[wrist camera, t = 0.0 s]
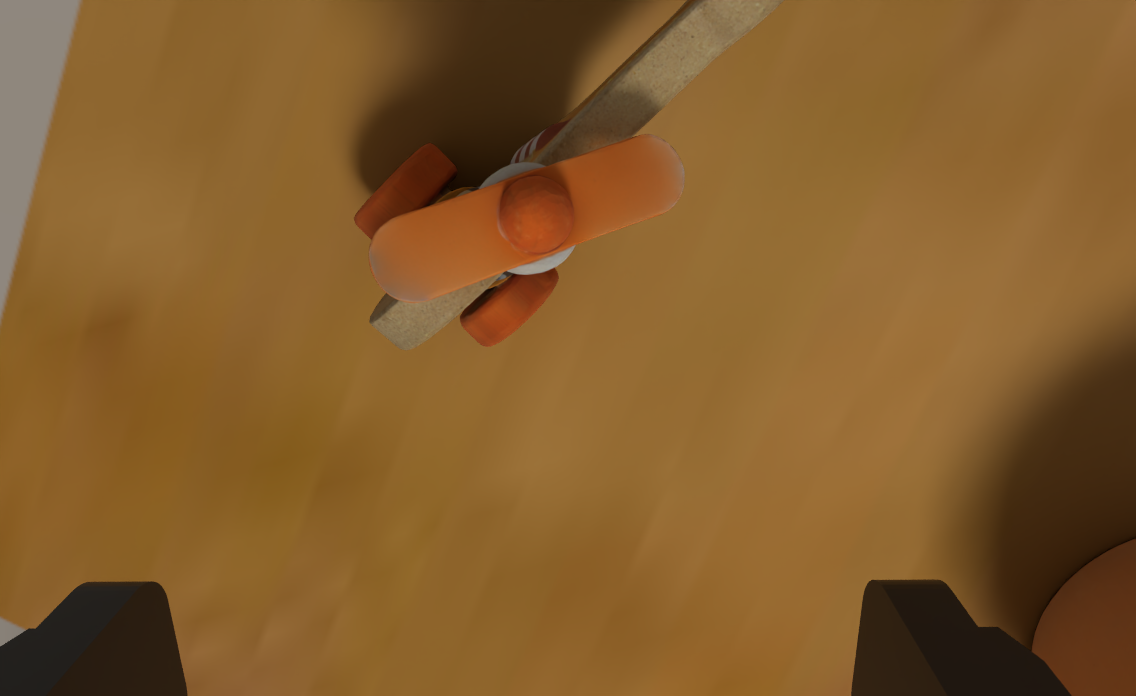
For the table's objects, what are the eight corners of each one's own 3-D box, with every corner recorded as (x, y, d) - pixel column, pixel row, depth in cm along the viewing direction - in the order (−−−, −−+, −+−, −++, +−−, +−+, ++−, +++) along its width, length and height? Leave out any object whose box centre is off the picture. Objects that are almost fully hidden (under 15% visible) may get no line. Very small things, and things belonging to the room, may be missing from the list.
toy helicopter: (352, 223, 37) (229, 303, 24) (692, -122, 32) (768, -254, 19) (475, 345, 39) (424, 479, 26) (814, 36, 34) (958, 12, 21)
